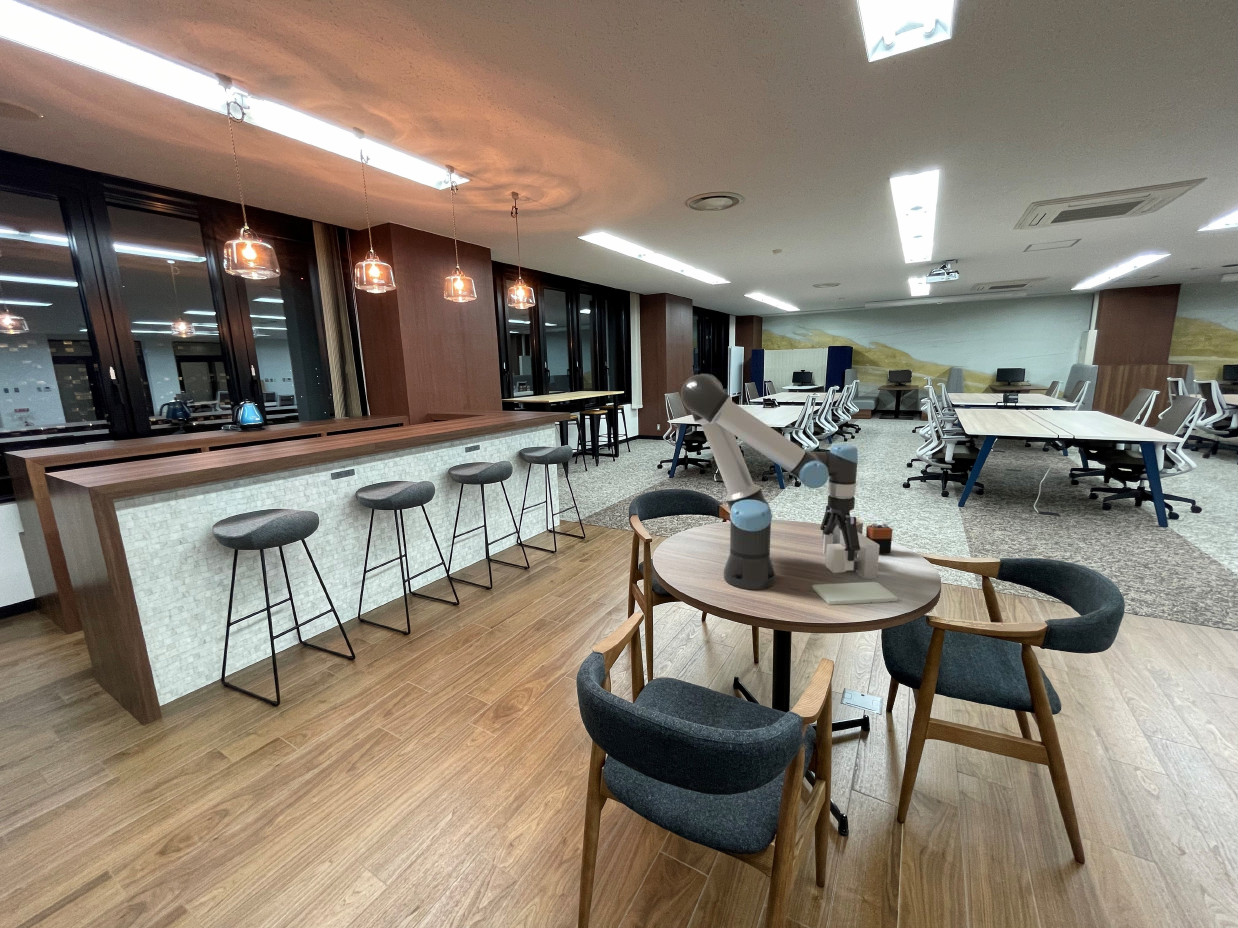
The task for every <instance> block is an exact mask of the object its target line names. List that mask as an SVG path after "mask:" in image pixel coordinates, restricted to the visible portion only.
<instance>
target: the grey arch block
mask: <svg viewBox="0 0 1238 928" xmlns="http://www.w3.org/2000/svg"><path fill="white" fill-rule="evenodd" d="M857 533H858V539H859V545H860V550H859V551H855V555H854V558H855V557H858V562H857V570H856V574H858V575H859V576H860V577H861V579H865V580H866V579H877V578H878V568H879V556H880V554H879V546H880V545H879V544H877V543H875V542H874V541H872V540H870V539H869V538H867V537H866V535H864V534H863V533H862V534H861V533H859V532H857ZM840 545H842V546H843V547H845V548H846V545H845V542H844V538H843V535H842V531H840Z"/></svg>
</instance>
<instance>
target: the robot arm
mask: <svg viewBox="0 0 1238 928" xmlns="http://www.w3.org/2000/svg"><path fill="white" fill-rule="evenodd" d="M680 390H681V391H680V398H681V402H682V404H683V406H684V407H685V409H687V410H688V411H690V412H691V416H692V418H693V419H694V423H697V424H699V425H701V428H702V430H703V433H704V436H705V437H706V441H707V442H708V446H709V448H710V450H711V452H712V453H711V454H712V455H713V458H714V460H715V463H716V466H717V468H718V471H719V472H720V476H721V478H722V481H723V483H724V485H725V488H726V490H727V494H726V496H725V501H726V504H727V506H728V509H729V511H730V512H729V518H730V529H729V531H730V535H729V539H730V540H729V542H730V543H729V554H728V558H727V560H726V563H725V565H724V567H723V579H724V581H725V582H726V583H728V584H730V585H732V586H733V587H737V588H740V589H745V590H763V589H768V588H771V587H772V586H774V584H775V583H776V572H775V568H774V566H773V563H772V560H771V533H772V532H771V530H772V519H773V515H772V509H771V507H770V505H769V503H768V501H767V499H766V498H765V496H764V493H763V491H762V489H761V486H760V485H758V484H756V483H755V482H754V481H753V479H752V476H751V473H750V470H749V469H748V466H747V463H746V461H745V457H744V455H743V454H742V451H741V448H740V446H739V443H738V440H737V438H738V439H739V440H741V441H742V442H744V443H746V444H747V445H749V446H750V447H752V448H753V449H754V450H756V451H757V452H759V453H760V454H762V455H763V456H765V457H766V458H767V459H769V460H771V461H772V462H773V463H775V464H777V465H778V466H779V467H781V468H783V469H784V470H785V471H786V472H788V474H789V475H790V476H794V477H795V478H797V479H798V480H799V481H800V482H801V483H802V485H804V486H805V487H806V488H809V489H818V488H819V489H820V488H821V487H823V486H824V485H826V484H827V482H828V488H827V489H828V490H827V494H829V495H828V496H827V505H826V506H825V512H824V515H823V519H822V521H821V525H820V528H819V530H820V531H823V534H824V539H823V545H822V546H823V547H822V548H823V549H822V554H823V555H826V552H827V544H833V535H832V534H834V533H833V530H834V529H835V527H836V526H837V525H838V526H839V529H841V531H842V535H843V538H844V542H845V545H846V548H845V549H844V550H845V551H844V566H843V570H844V571H846V570H852V571H854V570H853V568H854V555H855V551H859V550H860V545H859V539H858V533H857V527H856V518H857V517H856V516H851V513H850V512H851V511H852V510H854V509H855V507H856V506H855V504H856V503H855V502H856V498H855V496H856V489H857V488H856V487H857V484H856V483H857V474H858V462H859V460H858V457H859V456H858V455H859V454H858V451H859V450H858V448H857V447H856V446H854V445H852V444H851V445H850V444H834V445H832V446H831V447H830V450H829V451H806V450H805V449H803V448H802V447H800V446H798V444H796V443H794V442H793V441H791V440H790V439H789V438H786V436H784V435H782V434H781V433H779V432H778V431H776V430H775V429H774V428H772V427H771V426H769V425H768V424H766V423H765V422H764V421H762V420H760V419H759V418H757V417H756V416H754V415H753V414H751V413H749V412H748V410H746V409H744V408H742V407H741V406H740V405H738V404H737V403H735V402H734V401H733V400H732V396H731V395H730V394H729V393H727V392H725V391H724V387H723V385H722V382H721V381H720V380H719V379H718V378H717V377H716V376H715V375H713V374H709V373H700V374H695V375H692V376H690V377H689V378H687V379H686V380H685V382H684V383H683V385H682V387H681V389H680ZM736 437H737V438H736ZM846 572H847V571H846Z"/></svg>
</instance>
